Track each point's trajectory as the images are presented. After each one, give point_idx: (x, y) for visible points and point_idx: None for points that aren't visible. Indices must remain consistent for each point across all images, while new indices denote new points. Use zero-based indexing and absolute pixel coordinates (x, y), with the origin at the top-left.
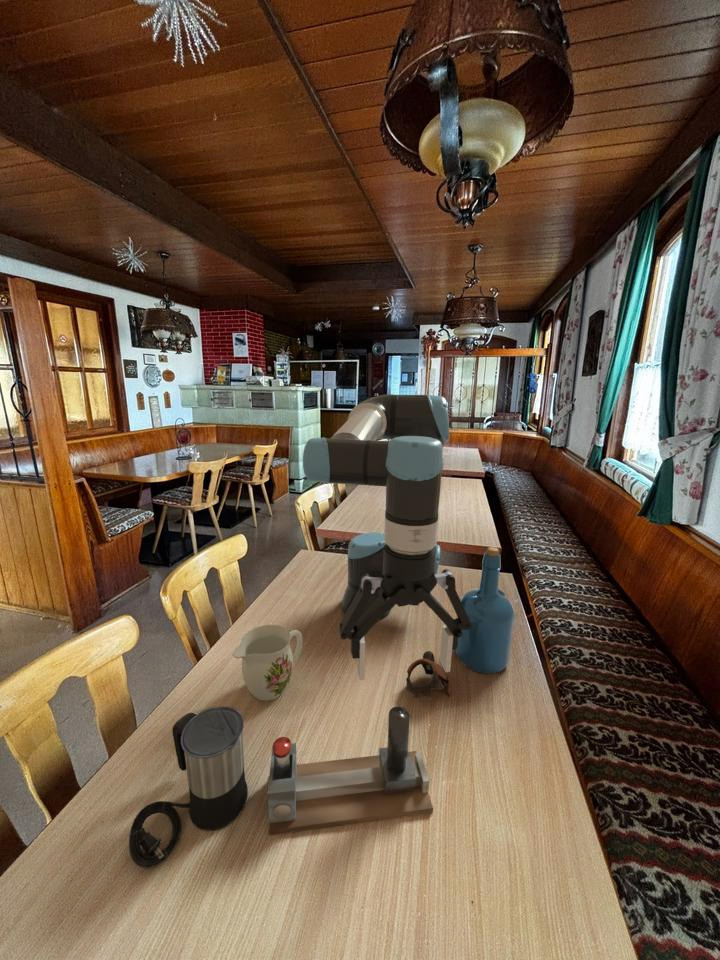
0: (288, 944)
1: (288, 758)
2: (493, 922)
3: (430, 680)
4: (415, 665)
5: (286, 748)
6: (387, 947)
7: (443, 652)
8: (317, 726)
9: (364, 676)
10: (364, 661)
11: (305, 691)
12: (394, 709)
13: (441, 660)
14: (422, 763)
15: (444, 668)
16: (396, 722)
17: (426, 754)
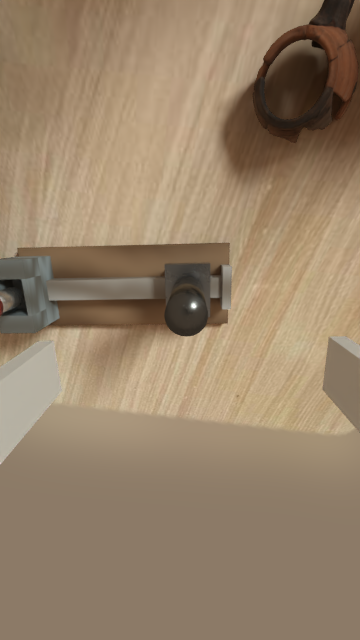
0: (72, 401)
1: (8, 307)
2: (250, 409)
3: (307, 112)
4: (290, 43)
5: None
6: (154, 412)
7: (355, 388)
8: (74, 172)
9: (56, 397)
10: (24, 435)
11: (41, 77)
12: (178, 301)
13: (332, 355)
14: (229, 283)
15: (326, 381)
16: (176, 332)
17: (245, 243)
